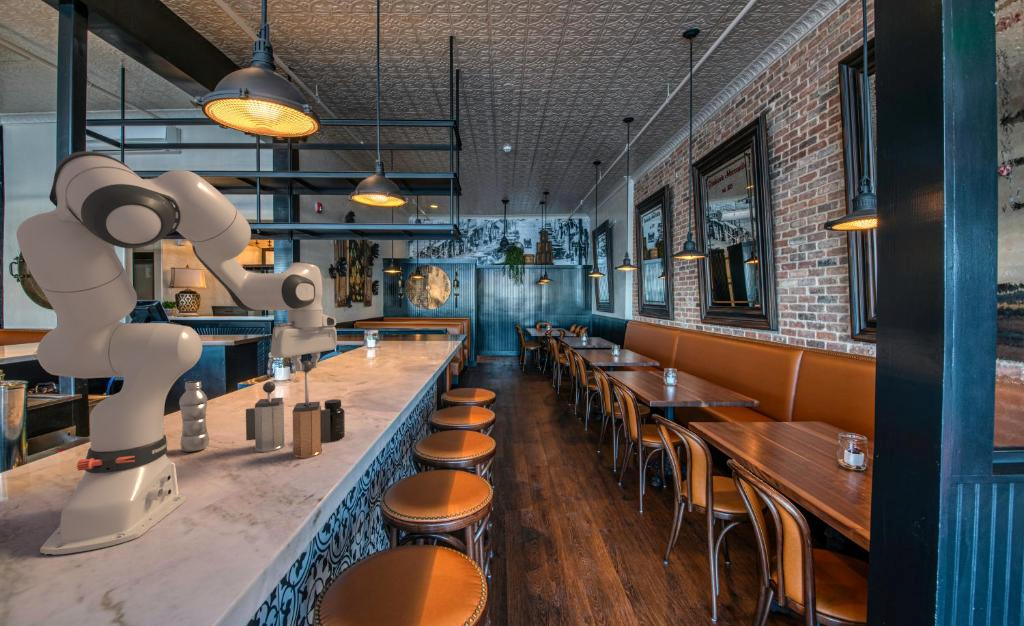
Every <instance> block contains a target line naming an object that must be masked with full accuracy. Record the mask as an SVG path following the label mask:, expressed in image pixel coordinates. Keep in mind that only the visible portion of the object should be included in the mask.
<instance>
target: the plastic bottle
mask: <svg viewBox="0 0 1024 626" xmlns="http://www.w3.org/2000/svg"><path fill="white" fill-rule="evenodd" d="M184 383H185V385H184V389H185V392H184V393H183V394H182V395H181V396H180V398H179V402H178V404H179V408H180V409H179V410H180V413H181V422H182V427H181V429H182V431H181V437H180V448H181V450H182V451H183V452H186V453H189V452H190V453H191V452H197V451H201V450H205V449H206V448H208V445H209V442H210V436H209V432H208V429H207V427H208V426H207V419H206V417H207V407H208V397H207V394H205V392H204V391H203V390H202V387H203V386H202V380H192V381H191V380H190V381H185V382H184Z"/></svg>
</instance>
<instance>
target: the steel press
mask: <svg viewBox="0 0 1024 626" xmlns="http://www.w3.org/2000/svg"><path fill="white" fill-rule="evenodd" d="M254 404H255V405H254V407H252V408H246V409H245V435H246V437H245V439H246V441H253V440H254V443H255V444H254V446H255V452H258V453H268V452H269V453H270V452H275V451H278V450H280V449H282V448H284V447H285V443H286V442H285V408H284V407H285V405H284V404H285V403H284V397H273V398H272V397H271V401H268V398H260V399H258V401H257V402H255V403H254Z"/></svg>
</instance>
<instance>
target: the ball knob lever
mask: <svg viewBox="0 0 1024 626" xmlns="http://www.w3.org/2000/svg"><path fill="white" fill-rule="evenodd" d="M301 363H302V364H304V370H303V371H302V372H303V373H304V397H305V398H304V400H305V401H304V403H305V406H308V405H309V402H310V394H309V393H310V391H309V390H310V389H309V387H310V386H309V372H311V371H312V368H313V364H312V363H311V360H310V361H309V360H305V361H301ZM313 369H314V368H313Z"/></svg>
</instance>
